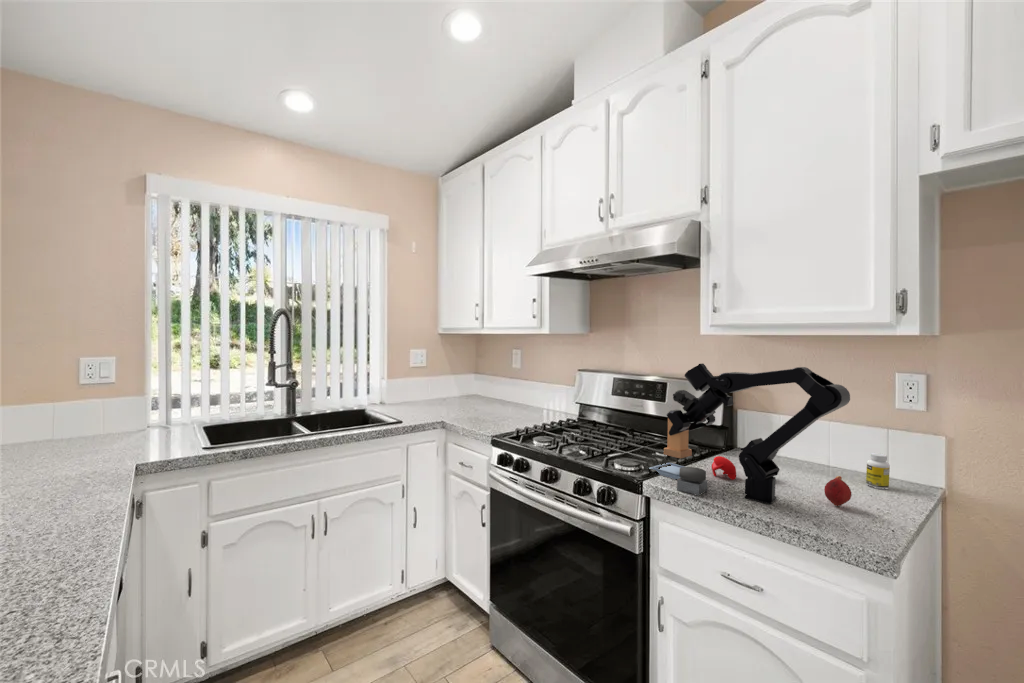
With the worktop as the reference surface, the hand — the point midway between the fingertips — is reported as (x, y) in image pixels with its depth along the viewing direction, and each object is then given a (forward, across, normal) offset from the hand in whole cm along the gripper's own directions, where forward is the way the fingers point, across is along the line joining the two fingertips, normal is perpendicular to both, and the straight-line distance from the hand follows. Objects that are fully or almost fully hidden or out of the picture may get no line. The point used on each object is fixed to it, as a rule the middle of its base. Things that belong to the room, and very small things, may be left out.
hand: (674, 433), depth 148 cm
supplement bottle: (-20, -40, +40) cm, 60 cm away
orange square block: (+4, 0, +6) cm, 7 cm away
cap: (+2, -11, +17) cm, 20 cm away
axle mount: (0, +9, +18) cm, 20 cm away
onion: (-20, -12, +39) cm, 45 cm away
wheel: (0, +9, +17) cm, 20 cm away
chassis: (+9, 0, +9) cm, 13 cm away
